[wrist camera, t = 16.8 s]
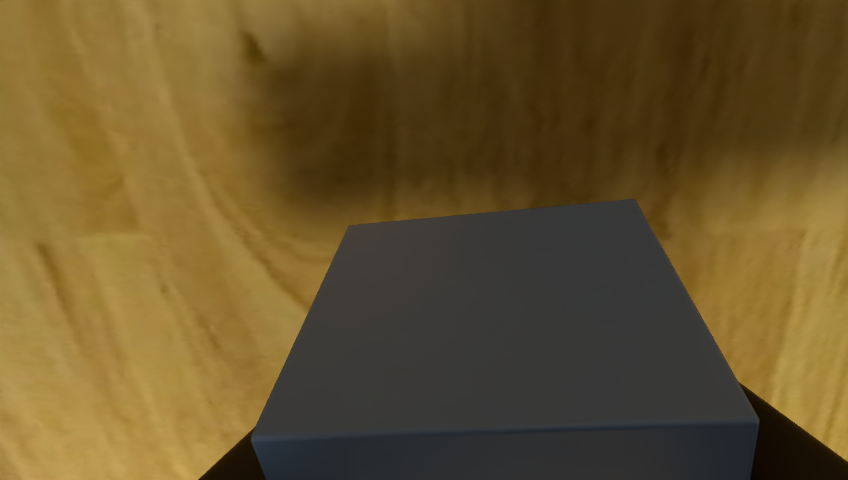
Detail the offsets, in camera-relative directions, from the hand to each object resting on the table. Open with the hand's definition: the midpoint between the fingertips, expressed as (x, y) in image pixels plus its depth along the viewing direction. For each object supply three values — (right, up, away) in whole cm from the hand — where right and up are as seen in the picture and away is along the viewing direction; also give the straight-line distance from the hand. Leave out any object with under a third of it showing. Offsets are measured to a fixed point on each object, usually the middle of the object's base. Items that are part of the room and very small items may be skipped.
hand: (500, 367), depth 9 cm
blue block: (0, 0, +1) cm, 1 cm away
